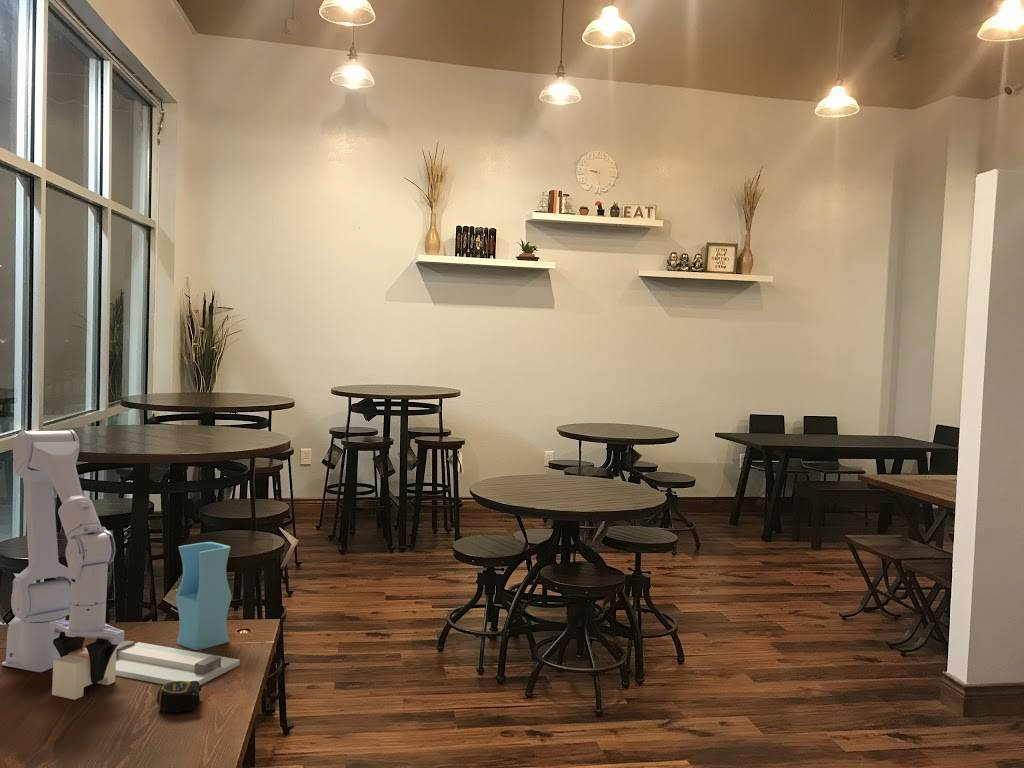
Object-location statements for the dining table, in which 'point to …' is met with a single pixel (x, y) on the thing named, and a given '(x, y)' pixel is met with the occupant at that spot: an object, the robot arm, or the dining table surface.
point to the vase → (203, 595)
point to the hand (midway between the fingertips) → (84, 678)
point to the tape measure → (179, 696)
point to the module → (77, 674)
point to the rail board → (168, 663)
